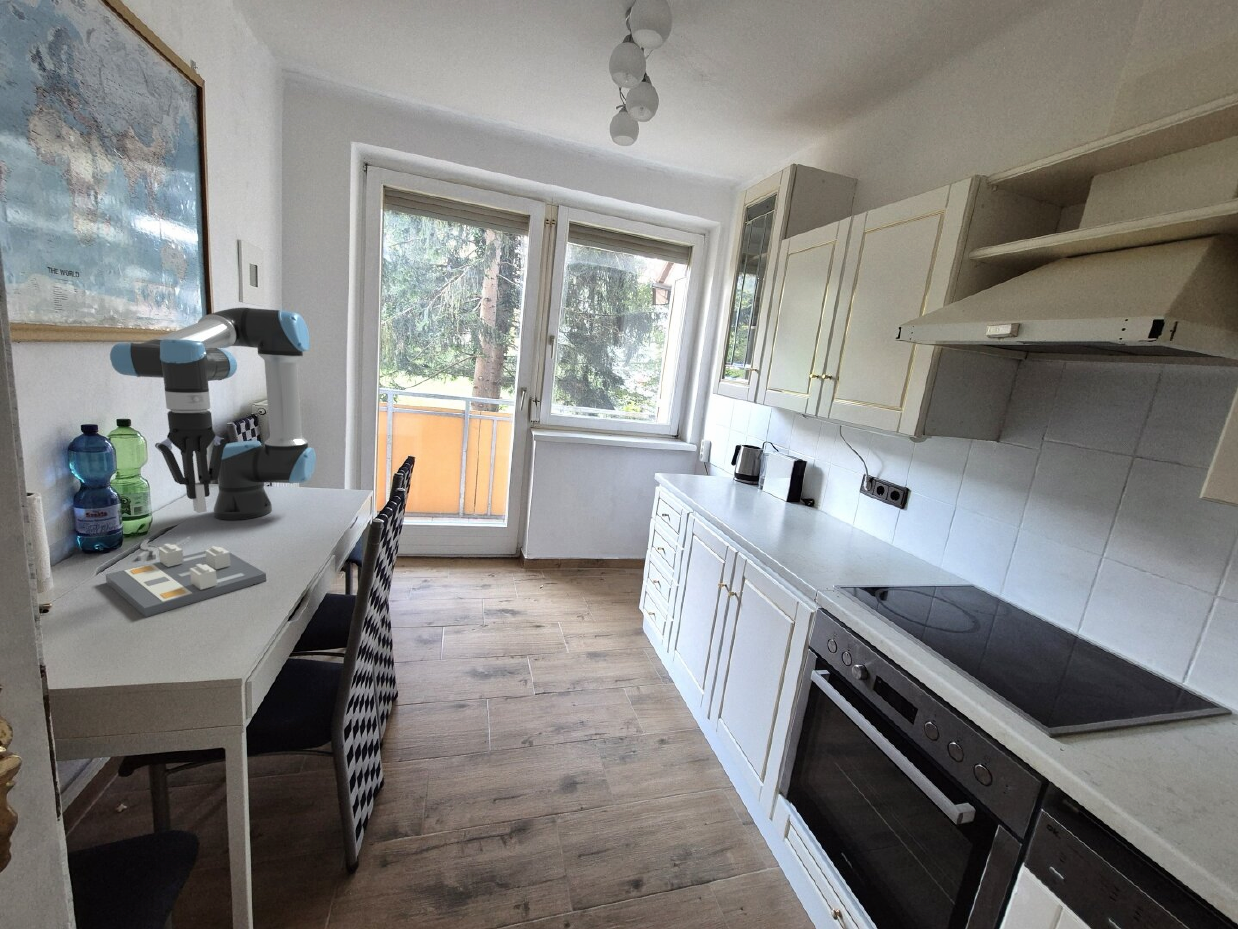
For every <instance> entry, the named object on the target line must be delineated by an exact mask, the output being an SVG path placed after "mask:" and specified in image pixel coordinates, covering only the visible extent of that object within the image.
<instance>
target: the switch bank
mask: <svg viewBox="0 0 1238 929" xmlns="http://www.w3.org/2000/svg"><path fill="white" fill-rule="evenodd" d="M228 552H229V554H230V564H231V566H227V567H223V568H220V569H214V568H213V567H211V566H209V565H208V564H207V562H206V552H205V550H203V551H200V552H196V553H192V554H188V555H183V560H184V563H182V564H178V565H174V566H170V567H167V566H166V565H164V564H163V563H162V562H160V561H158V562H154V563H153V562H152V563H148V564H145V565H140V566H136V567H131V568H128V569H124V570H119V571H114V572H109V573H107V574H105V580H106V583H107V585H108V586H110V587H111V588H112V590H114V589H115V590H114V591H115V592H116V593H118V594H119V595H120V596H121V597H122V598H124V599H125V600H126V601H127V602H128V603H129V604H130V605H132V606H133V607H134V608H135V609H136V610H137V611H138V612H139V613H140V614H142V615H143V616H144V617H145V618H147V617H148V618H149V617H152V616H153V615H154V616H155V615H158V614H161V613H165V612H167V611H171V610H175V609H178V608H182V607H185V606H187V605H192V604H195V603H198V602H202V601H204V600H207V599H212V598H214V597H218V596H222V595H224V594H228V593H231V592H234V591H238V590H242V589H244V588H248V587H252V586H254V585H253V584H255V585H258V584H261V583H265V582H267V573H266V572H264V571H262V570H261V569H259V568H257V567H256V566H255V565H252V564H251V563H249V562H247V561H245V560H244V559H242V558H240V557H238V556H236V555H235V554H232V552H230V551H228ZM197 564H202V565H205V564H206V565H208V566H209V567H211V568H213V569H214V570H216V577H217V585H216V586H212V587H209V588H205V589H202V590H201V589H199V588H198V587H196V586H195V585H193V584H192V583H191V576H190V568H194V567H196V565H197ZM257 583H258V584H257ZM251 585H252V586H251ZM237 589H238V590H237ZM217 595H218V596H217Z"/></svg>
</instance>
